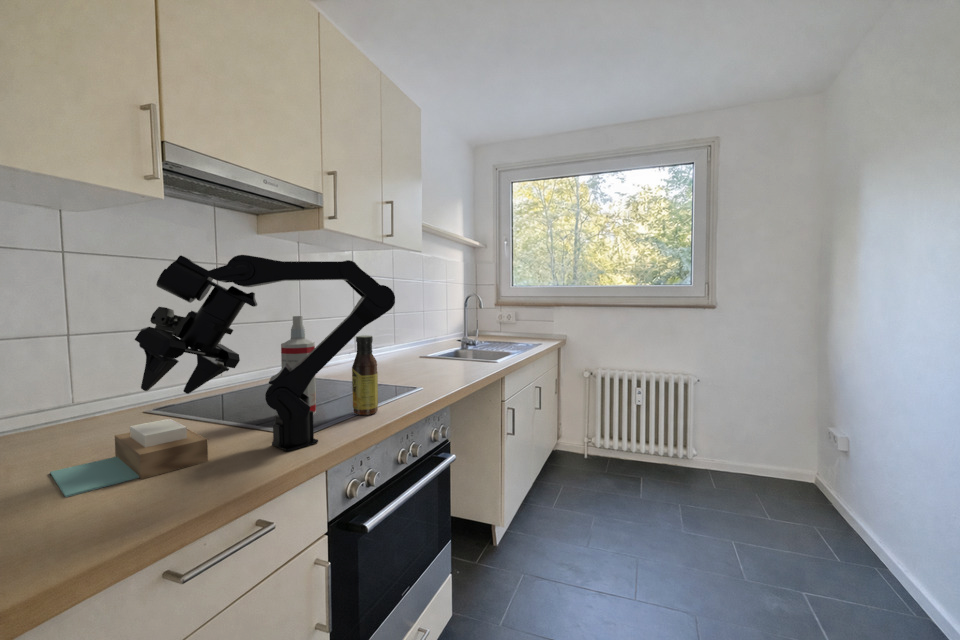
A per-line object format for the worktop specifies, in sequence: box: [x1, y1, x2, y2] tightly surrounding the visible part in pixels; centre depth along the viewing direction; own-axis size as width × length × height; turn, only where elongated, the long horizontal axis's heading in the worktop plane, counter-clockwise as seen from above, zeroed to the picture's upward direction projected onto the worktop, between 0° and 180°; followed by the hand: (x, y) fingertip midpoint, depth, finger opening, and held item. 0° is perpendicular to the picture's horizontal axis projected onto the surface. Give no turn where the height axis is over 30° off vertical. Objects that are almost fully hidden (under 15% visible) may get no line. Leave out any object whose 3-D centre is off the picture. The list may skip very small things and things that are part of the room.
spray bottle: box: [280, 315, 317, 416], centre depth 104 cm, size 8×8×25 cm
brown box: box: [114, 428, 209, 480], centre depth 75 cm, size 10×16×4 cm, turn 52°
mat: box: [49, 456, 140, 498], centre depth 68 cm, size 9×14×1 cm, turn 52°
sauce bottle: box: [351, 334, 379, 416], centre depth 105 cm, size 6×6×20 cm
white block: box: [129, 418, 188, 447], centre depth 74 cm, size 6×9×2 cm, turn 52°
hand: (165, 391), depth 74 cm, fingers open, 9 cm apart
